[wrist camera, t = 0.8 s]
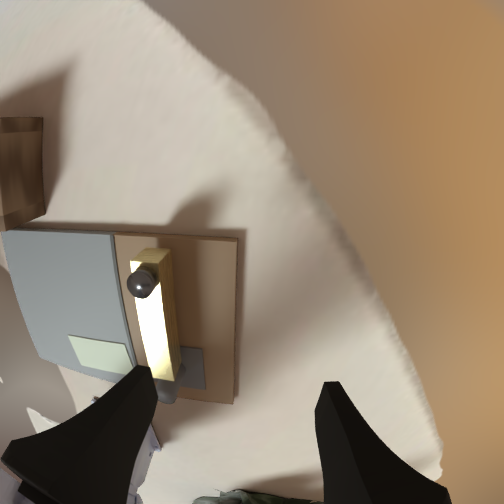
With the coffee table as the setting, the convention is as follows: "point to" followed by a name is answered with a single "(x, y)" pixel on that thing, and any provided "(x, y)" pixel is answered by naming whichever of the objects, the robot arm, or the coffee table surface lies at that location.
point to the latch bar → (156, 310)
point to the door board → (126, 304)
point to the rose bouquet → (249, 499)
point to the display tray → (20, 171)
